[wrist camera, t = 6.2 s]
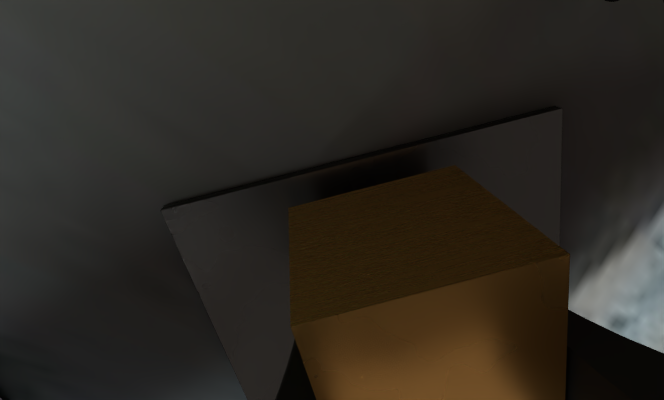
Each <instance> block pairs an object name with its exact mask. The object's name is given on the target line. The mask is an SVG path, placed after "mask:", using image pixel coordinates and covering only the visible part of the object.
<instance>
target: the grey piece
mask: <svg viewBox="0 0 664 400" xmlns="http://www.w3.org/2000/svg"><path fill="white" fill-rule="evenodd" d="M562 111H563V108H559V107H556V106H553V107H549V108H545V109H541V110H537V111H534V112H530V113H526V114H522V115H518V116H514V117H510V118H506V119H502V120H498V121H494V122H490V123H486V124H482V125H479V126H475V127H471V128H467V129H463V130H459V131H455V132H451V133H447V134H443V135H439V136H435V137H431V138H427V139H424V140H420V141H416V142H412V143H408V144H404V145H400V146H396V147H392V148H388V149H384V150H380V151H376V152H372V153H369V154H365V155H361V156H357V157H353V158H349V159H345V160H341V161H337V162H333V163H329V164H325V165H321V166H317V167H314V168H310V169H306V170H302V171H298V172H294V173H290V174H286V175H282V176H278V177H274V178H270V179H266V180H262V181H259V182H255V183H251V184H247V185H243V186H239V187H235V188H231V189H227V190H223V191H219V192H215V193H211V194H207V195H204V196H200V197H196V198H192V199H188V200H184V201H180V202H176V203H172V204H168V205H164V206H163V208H162V209H161V213H162V215H163V217H164V220H165V222H166V224H167V226H168V228H169V230H170V233H171V235H172V237H173V239H174V241H175V244H176V246H177V248H178V250H179V252H180V254H181V257H182V259H183V261H184V263H185V265H186V267H187V270H188V272H189V274H190V276H191V278H192V280H193V283H194V285H195V287H196V289H197V291H198V293H199V296H200V298H201V300H202V302H203V304H204V306H205V309H206V311H207V313H208V315H209V317H210V319H211V322H212V324H213V326H214V328H215V330H216V332H217V335H218V337H219V339H220V341H221V343H222V345H223V348H224V350H225V352H226V354H227V356H228V358H229V361H230V363H231V365H232V367H233V369H234V371H235V374H236V376H237V378H238V380H239V382H240V384H241V387H242V389H243V391H244V393H245V395H246V398H247V400H275V398H276V396H277V393H278V391H279V388H280V385H281V382H282V379H283V376H284V373H285V370H286V367H287V364H288V361H289V358H290V354H291V351H292V347H293V343H294V339H295V338H294V335H293V333H292V330H291V327H290V269H289V211H288V208H289V207H293V206H297V205H301V204H305V203H309V202H313V201H316V200H320V199H324V198H328V197H332V196H336V195H340V194H344V193H348V192H351V191H355V190H359V189H363V188H367V187H371V186H375V185H379V184H383V183H386V182H390V181H394V180H398V179H402V178H406V177H410V176H414V175H418V174H421V173H425V172H429V171H433V170H437V169H441V168H445V167H449V166H453V165H456V166H457V167H458V168H459V169H461V170H462V171H463V172H465V173H466V174H467V175H468V176H470V177H471V178H472V179H474V180H475V181H476V182H477V183H479V184H480V185H481V186H483V187H484V188H485V189H486V190H488V191H489V192H490V193H492V194H493V195H494V196H495V197H497V198H498V199H499V200H501V201H502V202H503V203H504V204H506V205H507V206H508V207H510V208H511V209H512V210H513V211H515V212H516V213H517V214H519V215H520V216H521V217H522V218H524V219H525V220H526V221H528V222H529V223H530V224H531V225H533V226H534V227H535V228H537V229H538V230H539V231H540V232H542V233H543V234H544V235H546V236H547V237H548V238H549V239H551V240H552V241H553V242H555V243H556V244H557V245H558V246H560V206H561V158H562Z"/></svg>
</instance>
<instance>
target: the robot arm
mask: <svg viewBox="0 0 664 400" xmlns="http://www.w3.org/2000/svg"><path fill="white" fill-rule="evenodd" d="M0 400H2V399H1V398H0ZM275 400H316V397H315V394H314V392H313V389H312V386H311V383H310V380H309V378H308V375H307V372H306V369H305V366H304V363H303V361H302V358H301V355H300V352H299V349H298V347H297V344H296V341H295V339H294V343H293V347H292V351H291V354H290V358H289V361H288V364H287V367H286V370H285V373H284V376H283V379H282V382H281V385H280V388H279V391H278V393H277V396H276V398H275ZM565 400H664V353H661V352H659V351H656V350H654V349H652V348H649V347H647V346H644V345H642V344H639V343H637V342H635V341H632V340H630V339H628V338H625V337H623V336H621V335H619V334H616V333H614V332H612V331H610V330H608V329H606V328H604V327H602V326H600V325H598V324H595V323H593V322H591V321H589V320H587V319H585V318H583V317H581V316H579V315H577V314H576V313H574V312H572V311H570V310H568V327H567V359H566V390H565Z"/></svg>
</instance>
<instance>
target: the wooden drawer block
mask: <svg viewBox="0 0 664 400" xmlns="http://www.w3.org/2000/svg"><path fill="white" fill-rule="evenodd" d="M288 211H289V269H290V327H291V330H292V333H293V335H294V338H295V341H296V344H297V347H298V349H299V352H300V355H301V358H302V361H303V363H304V366H305V369H306V372H307V375H308V378H309V380H310V383H311V386H312V389H313V392H314V394H315V397H316V400H565V390H566V359H567V327H568V296H569V265H570V254H569V253H567V252H566V251H565V250H564V249H562V248H561V247H560V246H558V245H557V244H556V243H555V242H553V241H552V240H551V239H549V238H548V237H547V236H546V235H544V234H543V233H542V232H540V231H539V230H538V229H537V228H535V227H534V226H533V225H531V224H530V223H529V222H528V221H526V220H525V219H524V218H522V217H521V216H520V215H519V214H517V213H516V212H515V211H513V210H512V209H511V208H510V207H508V206H507V205H506V204H504V203H503V202H502V201H501V200H499V199H498V198H497V197H495V196H494V195H493V194H492V193H490V192H489V191H488V190H486V189H485V188H484V187H483V186H481V185H480V184H479V183H477V182H476V181H475V180H474V179H472V178H471V177H470V176H468V175H467V174H466V173H465V172H463V171H462V170H461V169H459V168H458V167H457V166H456V165H453V166H449V167H445V168H441V169H437V170H433V171H429V172H425V173H421V174H418V175H414V176H410V177H406V178H402V179H398V180H394V181H390V182H386V183H383V184H379V185H375V186H371V187H367V188H363V189H359V190H355V191H351V192H348V193H344V194H340V195H336V196H332V197H328V198H324V199H320V200H316V201H313V202H309V203H305V204H301V205H297V206H293V207H289V208H288Z"/></svg>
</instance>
